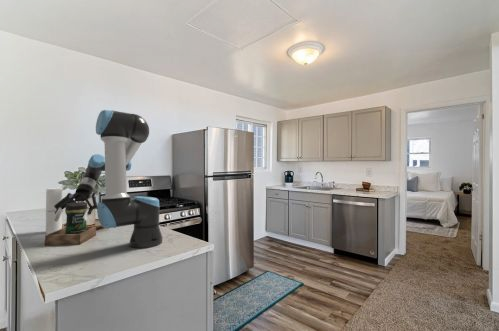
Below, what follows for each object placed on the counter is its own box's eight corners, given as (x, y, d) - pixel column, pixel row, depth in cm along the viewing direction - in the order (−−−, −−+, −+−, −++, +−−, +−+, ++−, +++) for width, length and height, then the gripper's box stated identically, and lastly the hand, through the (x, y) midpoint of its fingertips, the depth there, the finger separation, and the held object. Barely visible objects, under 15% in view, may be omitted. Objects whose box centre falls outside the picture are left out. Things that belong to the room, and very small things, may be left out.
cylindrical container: (52, 234, 135) (53, 189, 135) (42, 233, 136) (42, 189, 136) (64, 230, 142) (65, 188, 142) (54, 230, 143) (55, 187, 143)
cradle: (96, 235, 133) (96, 226, 133) (80, 244, 118) (80, 234, 118) (65, 236, 131) (65, 227, 131) (44, 245, 116) (45, 235, 116)
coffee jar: (65, 241, 119) (66, 204, 119) (63, 238, 124) (63, 202, 125) (89, 237, 126) (89, 202, 126) (85, 234, 131) (86, 200, 131)
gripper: (111, 191, 141) (98, 223, 126) (64, 191, 138) (46, 224, 123) (107, 183, 136) (93, 215, 121) (59, 183, 133) (38, 216, 118)
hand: (69, 219), depth 122 cm, fingers open, 13 cm apart
